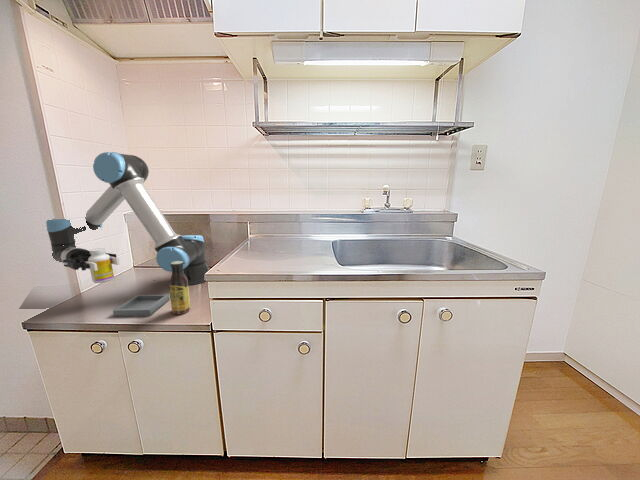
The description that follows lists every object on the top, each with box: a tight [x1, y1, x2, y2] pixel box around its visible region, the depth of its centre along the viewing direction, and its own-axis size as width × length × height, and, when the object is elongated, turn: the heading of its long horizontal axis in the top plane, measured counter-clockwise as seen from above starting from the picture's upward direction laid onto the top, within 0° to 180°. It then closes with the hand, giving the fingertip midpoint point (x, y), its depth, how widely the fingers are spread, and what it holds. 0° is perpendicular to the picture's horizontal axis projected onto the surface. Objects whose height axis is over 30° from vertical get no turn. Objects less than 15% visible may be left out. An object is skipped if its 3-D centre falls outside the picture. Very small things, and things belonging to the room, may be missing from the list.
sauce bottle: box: [168, 261, 191, 315], centre depth 96 cm, size 7×6×20 cm
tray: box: [112, 293, 171, 318], centre depth 100 cm, size 13×13×2 cm
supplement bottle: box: [88, 247, 115, 284], centre depth 100 cm, size 7×7×13 cm
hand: (107, 264), depth 97 cm, fingers closed on supplement bottle, 7 cm apart
